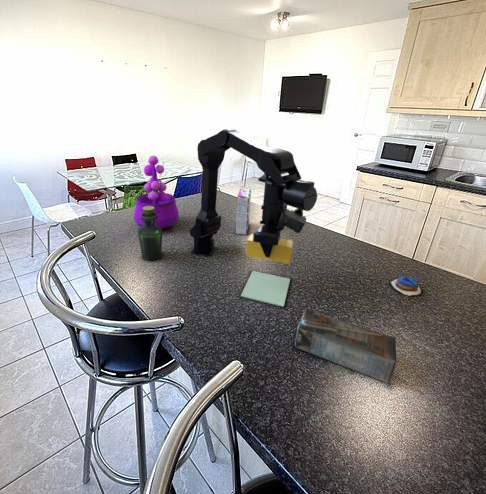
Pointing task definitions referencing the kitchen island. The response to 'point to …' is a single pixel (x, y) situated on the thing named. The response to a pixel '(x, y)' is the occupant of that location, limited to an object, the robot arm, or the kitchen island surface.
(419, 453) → the kitchen island surface
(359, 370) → the beverage carton
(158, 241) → the potion bottle
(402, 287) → the dessert
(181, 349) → the kitchen island surface
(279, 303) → the mat
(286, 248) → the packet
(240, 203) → the candy bar box
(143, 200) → the decorative plant
